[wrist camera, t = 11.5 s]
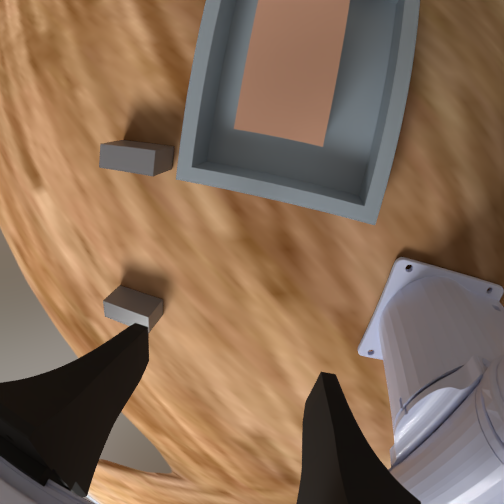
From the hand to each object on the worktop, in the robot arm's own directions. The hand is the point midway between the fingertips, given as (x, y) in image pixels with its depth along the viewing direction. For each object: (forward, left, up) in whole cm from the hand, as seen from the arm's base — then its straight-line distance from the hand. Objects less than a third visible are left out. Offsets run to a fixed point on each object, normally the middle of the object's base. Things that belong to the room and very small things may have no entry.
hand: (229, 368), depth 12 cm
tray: (0, -12, -9) cm, 15 cm away
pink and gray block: (0, -12, -9) cm, 15 cm away
